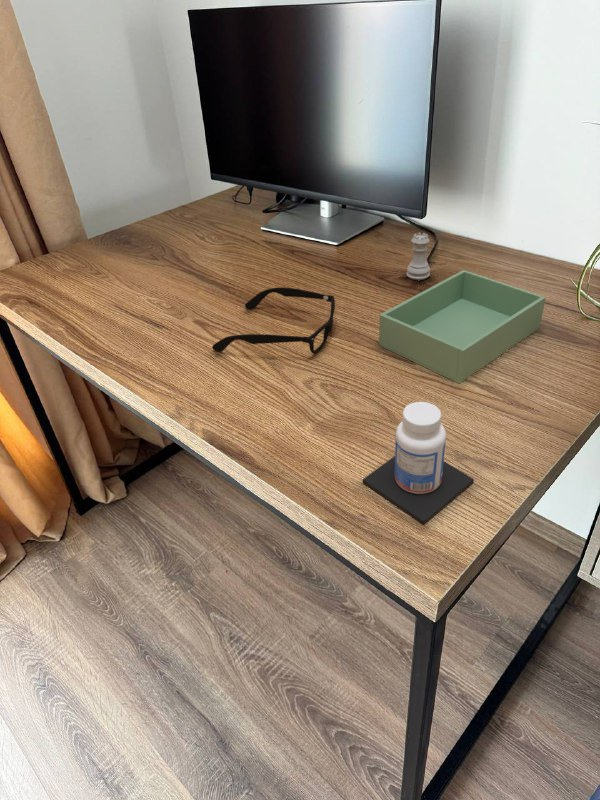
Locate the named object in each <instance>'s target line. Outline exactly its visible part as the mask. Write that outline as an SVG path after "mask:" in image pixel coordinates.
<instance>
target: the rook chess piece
mask: <svg viewBox="0 0 600 800" xmlns="http://www.w3.org/2000/svg"><path fill="white" fill-rule="evenodd" d="M429 242H430V238H429V235H428V234H427V233H425V232H423V233H422V234H421V232H417V233H414V234H413V237H412V238H411V243H412V245H413V246H412V247H411V249H412V256H411V259H410V260H411V261H410V262H409V264H408V266H407V268H406V273H405V274H406V276H407V278H408V279H410V280H414V281H423V280H427V279H428V278H429V277H430V276H431V272H430V271H431V267H430V265H429V262H428V260H427V258H428V257H427V250H428V249H429V248H428V244H429Z"/></svg>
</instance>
